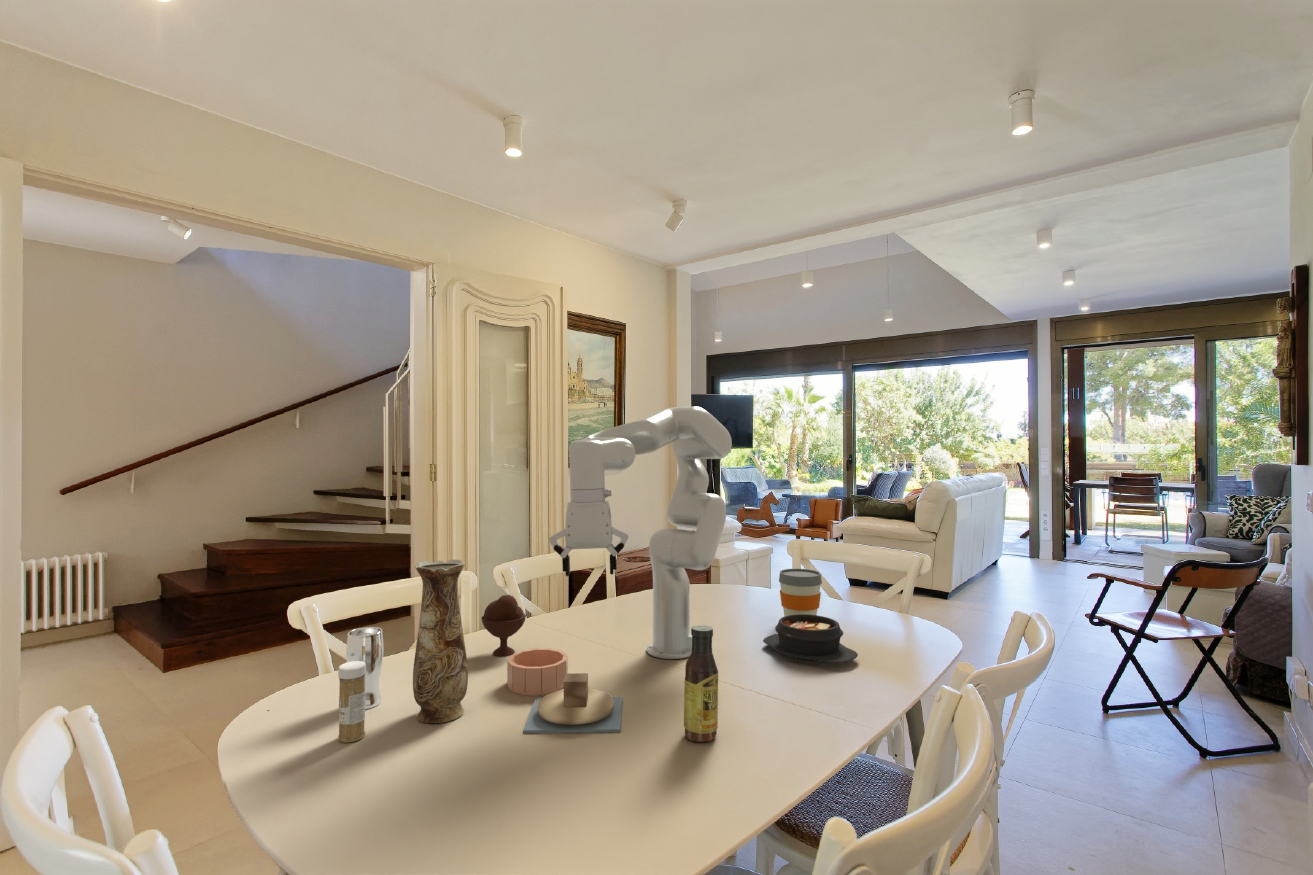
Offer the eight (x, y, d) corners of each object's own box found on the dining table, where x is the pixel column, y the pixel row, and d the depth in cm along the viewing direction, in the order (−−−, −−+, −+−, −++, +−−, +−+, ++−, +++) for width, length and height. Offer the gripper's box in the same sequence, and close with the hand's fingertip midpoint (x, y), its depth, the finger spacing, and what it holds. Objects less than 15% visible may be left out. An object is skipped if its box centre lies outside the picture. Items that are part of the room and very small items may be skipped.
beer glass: (390, 699, 133) (390, 628, 134) (365, 713, 127) (365, 638, 127) (364, 695, 136) (364, 625, 136) (338, 708, 129) (338, 634, 129)
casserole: (747, 649, 166) (747, 617, 166) (792, 635, 178) (792, 605, 178) (829, 677, 147) (829, 640, 147) (872, 659, 159) (872, 625, 159)
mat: (621, 699, 134) (621, 696, 134) (620, 731, 119) (620, 729, 119) (536, 700, 133) (536, 697, 133) (523, 733, 118) (523, 730, 118)
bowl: (570, 673, 149) (570, 648, 149) (563, 695, 136) (563, 667, 136) (514, 674, 149) (514, 648, 149) (502, 696, 136) (502, 668, 136)
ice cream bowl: (530, 646, 168) (530, 589, 168) (516, 661, 157) (517, 600, 157) (491, 645, 169) (491, 588, 169) (475, 659, 158) (475, 599, 158)
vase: (416, 729, 120) (416, 570, 120) (409, 708, 129) (410, 561, 129) (472, 718, 124) (473, 565, 125) (462, 699, 134) (462, 556, 134)
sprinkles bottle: (334, 737, 117) (334, 664, 117) (360, 729, 120) (361, 658, 120) (342, 746, 113) (343, 670, 113) (369, 738, 116) (369, 664, 116)
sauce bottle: (707, 747, 113) (708, 635, 113) (677, 738, 116) (677, 629, 116) (724, 733, 118) (724, 626, 119) (694, 725, 122) (694, 621, 122)
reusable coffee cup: (794, 614, 199) (794, 566, 199) (829, 622, 190) (829, 572, 190) (770, 622, 191) (770, 572, 191) (806, 631, 182) (806, 579, 182)
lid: (615, 697, 134) (615, 663, 134) (612, 729, 119) (612, 691, 119) (543, 697, 133) (543, 664, 133) (531, 730, 118) (531, 692, 118)
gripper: (627, 493, 143) (629, 568, 144) (549, 495, 142) (552, 571, 143) (627, 497, 136) (629, 576, 136) (545, 499, 135) (548, 579, 135)
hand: (589, 573), depth 139 cm, fingers open, 9 cm apart
